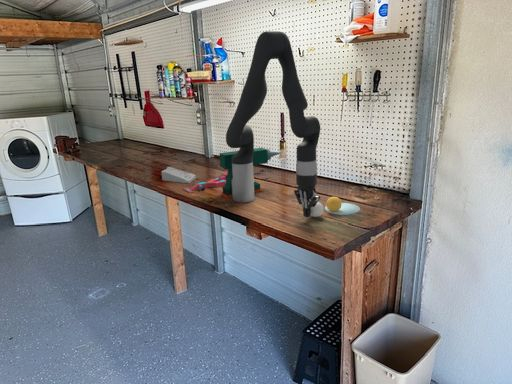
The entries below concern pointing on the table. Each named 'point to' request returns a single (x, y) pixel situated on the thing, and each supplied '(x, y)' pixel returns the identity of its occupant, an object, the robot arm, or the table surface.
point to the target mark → (345, 209)
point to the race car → (209, 183)
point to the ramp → (177, 175)
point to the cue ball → (317, 210)
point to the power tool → (258, 158)
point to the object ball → (333, 204)
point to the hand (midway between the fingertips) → (306, 216)
